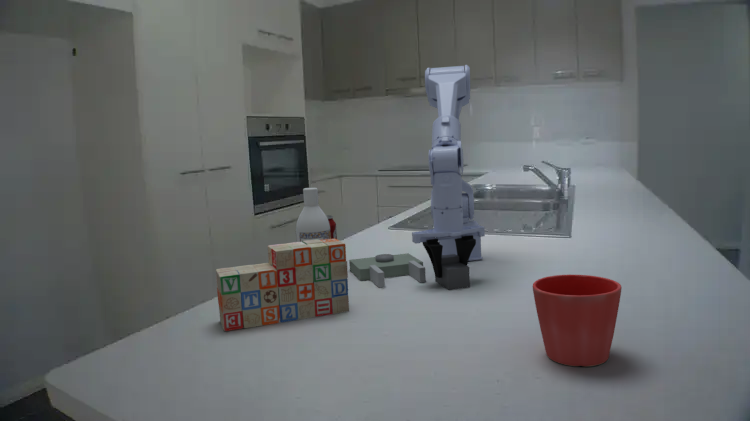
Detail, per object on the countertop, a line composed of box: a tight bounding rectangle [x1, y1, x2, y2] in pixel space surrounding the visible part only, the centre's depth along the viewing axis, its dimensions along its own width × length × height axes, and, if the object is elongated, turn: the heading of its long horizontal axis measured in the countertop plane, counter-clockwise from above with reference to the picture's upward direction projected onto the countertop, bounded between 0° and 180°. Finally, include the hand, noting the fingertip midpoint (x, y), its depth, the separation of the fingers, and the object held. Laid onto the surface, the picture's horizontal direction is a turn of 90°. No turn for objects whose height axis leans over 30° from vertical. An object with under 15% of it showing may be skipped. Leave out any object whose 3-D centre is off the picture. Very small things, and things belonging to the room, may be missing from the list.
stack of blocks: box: [215, 238, 350, 332], centre depth 96 cm, size 21×6×12 cm, turn 111°
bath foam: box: [295, 187, 331, 242], centre depth 115 cm, size 7×7×20 cm
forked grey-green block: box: [348, 252, 427, 289], centre depth 121 cm, size 14×17×3 cm
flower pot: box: [532, 274, 622, 367], centre depth 73 cm, size 11×11×10 cm
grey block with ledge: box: [434, 254, 471, 291], centre depth 111 cm, size 4×7×5 cm, turn 15°
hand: (450, 275), depth 112 cm, fingers closed on grey block with ledge, 4 cm apart
